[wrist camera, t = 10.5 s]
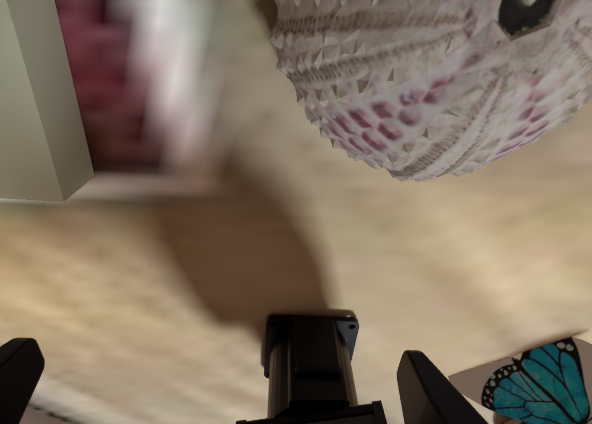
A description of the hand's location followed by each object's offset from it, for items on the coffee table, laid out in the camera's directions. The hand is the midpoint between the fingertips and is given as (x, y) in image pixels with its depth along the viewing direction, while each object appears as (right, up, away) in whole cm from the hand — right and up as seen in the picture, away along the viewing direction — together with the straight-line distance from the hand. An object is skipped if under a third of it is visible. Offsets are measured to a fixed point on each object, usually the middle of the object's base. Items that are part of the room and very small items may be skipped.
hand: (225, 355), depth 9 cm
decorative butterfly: (+21, -10, +21) cm, 31 cm away
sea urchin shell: (+7, +13, +7) cm, 16 cm away
